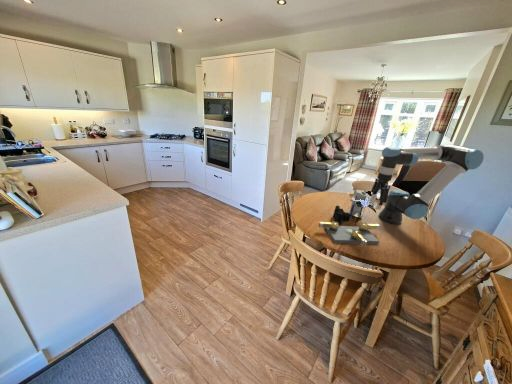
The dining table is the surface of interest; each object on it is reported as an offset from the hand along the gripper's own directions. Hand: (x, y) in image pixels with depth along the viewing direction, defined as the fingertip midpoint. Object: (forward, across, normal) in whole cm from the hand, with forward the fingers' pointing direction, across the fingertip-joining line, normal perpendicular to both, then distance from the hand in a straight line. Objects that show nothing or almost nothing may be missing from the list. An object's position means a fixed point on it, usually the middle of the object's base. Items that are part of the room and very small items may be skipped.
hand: (374, 206), depth 137 cm
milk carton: (+17, -18, -2) cm, 25 cm away
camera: (+18, -7, -16) cm, 25 cm away
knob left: (+15, +20, -15) cm, 29 cm away
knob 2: (+15, +6, -3) cm, 16 cm away
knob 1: (+15, +9, -30) cm, 35 cm away
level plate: (+17, +11, -16) cm, 26 cm away
